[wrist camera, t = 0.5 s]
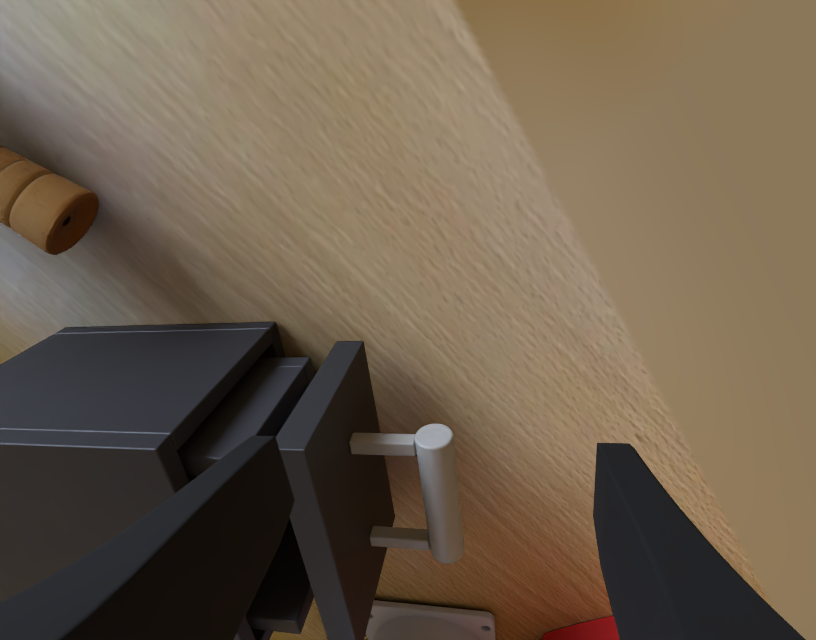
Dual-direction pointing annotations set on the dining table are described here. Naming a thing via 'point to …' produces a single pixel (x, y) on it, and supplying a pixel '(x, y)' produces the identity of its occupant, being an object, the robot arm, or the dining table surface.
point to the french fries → (586, 631)
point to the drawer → (331, 486)
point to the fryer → (106, 433)
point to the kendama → (43, 204)
